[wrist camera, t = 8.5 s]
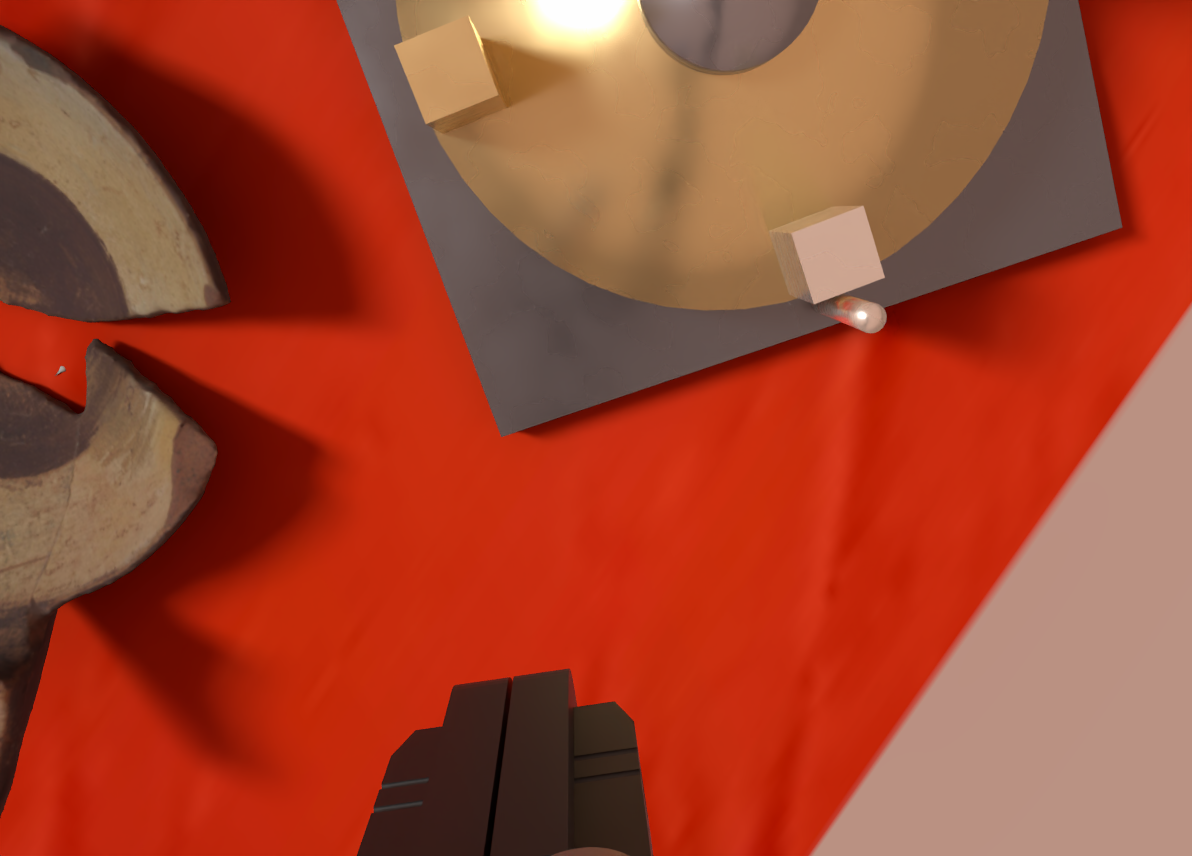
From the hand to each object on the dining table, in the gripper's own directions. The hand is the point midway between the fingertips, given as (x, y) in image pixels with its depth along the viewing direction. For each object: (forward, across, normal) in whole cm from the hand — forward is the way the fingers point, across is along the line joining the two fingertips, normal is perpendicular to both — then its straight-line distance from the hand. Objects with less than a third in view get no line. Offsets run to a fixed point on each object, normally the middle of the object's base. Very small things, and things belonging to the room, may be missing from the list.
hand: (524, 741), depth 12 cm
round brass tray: (+25, -8, -14) cm, 29 cm away
